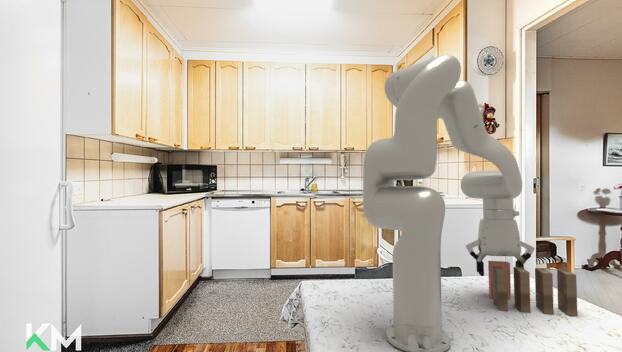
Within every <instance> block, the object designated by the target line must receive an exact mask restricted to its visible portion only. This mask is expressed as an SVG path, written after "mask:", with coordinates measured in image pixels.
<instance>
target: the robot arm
mask: <svg viewBox="0 0 622 352" xmlns="http://www.w3.org/2000/svg"><path fill="white" fill-rule="evenodd" d="M461 67H462V65H461V63H460V60H459V59H458V58H457V57H456V56H454V55H450V54H449V55H448V54H444V55H439V56H436V57H433V58H430V59H426V60H424V61H423V60H422V61H420V62H418V63H415V64H413V65H412V64H411V65H409V66H406V67H403V68H401V69H397V70H395V71H393V72H392V73H391V74H389V75H388V76H387V78H386V79H385V82H384V94H385V96H386V98H387V99H388V101H389V102H390V104H392V105H393V106H394V107H395V108H396V110H395V115H394V118H395V119H394V130H393V132H394V133H393V136H392V137H386V138H380V139H378V140H375V141H373V142H372V143H370V145H369V146H368V148H367V149H366V151H365V153H364V158H363V165H362V167H363V169H362V170H363V171H362V173H363V175H362V178H363V180H362V181H363V182H362V185H363V186H362V188H363V189H362V191H363V192H362V195H363V196H362V202H363V203H362V204H363V206H362V207H363V212H364V213H363V214H364V216H365V219H366V220H367V223H368V224H370V225H371V226H373V227H374V228H378V229H384V230H392V231H399V232H401V234H400V236H399V238H398V240H397V241H396V242H395V244H394V247H393V250H392V299H393V300H392V302H393V303H392V305H393V306H392V308H393V315H392V316H393V318H392V319H393V323H392V324H391V325H389V326H388V327H387V328H386V330H385V337H386V340H387V341H388V343H390V344H391V345H392V346H393V347H395V348H396V349H398V350H402V351H404V352H446V351H447V350H449V349H450V347H451V337H450V335H449V334H448V333H447V332H446V331H445V330H443V323H442V321H443V317H442V316H443V315H442V312H443V311H442V270H441V268H442V265H441V264H442V261H441V257H442V256H441V253H442V252H441V250H442V249H441V248H442V247H441V246H442V233H443V227H444V222H445V218H446V217H445V216H446V203H445V200H444V197H443V195H441V193H439V192H438V191H437V190H436V189H433V188H432V187H431V188H430V187H427V186H421V185H420V186H418V185H414V186H413V185H411V186H410V185H408V186H407V185H406V186H405V185H401V186H395V181H411V180H412V181H414V180H424V179H428V178H429V177H431V176H432V175H434V173H435V171H436V169H437V163H438V162H437V159H438V119H440V120H441V119H442V121H443V123H444V126H445V129H446V132H447V134H448V136H449V141H450V143H451V145H452V147H453V148H454V149H456V150H458V151H461V152H464V153H466V154H470V155H472V156H475V157H479V158H482V159H484V160H487V161H488V162H490V163H492V164H493V165H495V166H496V168H498V170H497V169H496V170H476V171H469V172H467V173H465V174H464V175H463V177H462V178H461V181H460V189H461V192H462V193H463V194H464V196H466V197H468V198H470V199H476V200H479V199H480V200H481V199H482V214H483V215H482V216H483V218H480V220H479V224H478V232H477V233H478V235H477V239H476V240H473V241H472V242H469V243H467V244H465V248H466V250H467V251H468V253H469V255H470V256H471V257H472V258H473V259H474V260H475V261H476V272H477V273H478V275H480V276H481V277H484V276H485V267H484V266H485V264H484V262H483V260H484V259H485V258H486V257H487V256H489V257H514V258H515V259H516V261H515V266H514V267H522V268H524V269H525V264H526V262H527V261H529V259H530V258H531V257H532V254H533V253H534V251H535V250H536V249H535V246H532V245H530V244H528V243H526V242H524V241H522V240H521V235H520V231H519V226H518V223H517V219H515V217H519V216H520V211H517V210H515V209H514V199H516V198H518V197H519V196H520V195H521V192H522V191H523V180H522V175H521V171H520V168H519V165H518V161H517V159H516V157H515V155H514V153H513V152H512V151H511V150H510V149H509V148H508V147H507V146H505V145H504V144H503V143H502V142H501V141H500V140H498V139H497V138H495V137H494V136H491V135H490V134H489V133H488V132H487V128H486V125H485V122H484V119H483V115H482V113H481V110H480V107H479V103H478V100H477V97H476V94H475V90H474V88H473V86H472V84H470V83H469V82H468V81H466V80H462V79H461V80H460V78H461V73H462V68H461ZM475 247H477V250H478V251H479V252H478V253H476V252H475V251H474V248H475ZM522 248H525V249H526V250H525V252H524V253H523V254H521V253H522Z"/></svg>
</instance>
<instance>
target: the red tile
mask: <svg viewBox="0 0 622 352" xmlns="http://www.w3.org/2000/svg"><path fill="white" fill-rule="evenodd" d="M487 264H488V267H487V268H488V269H487V270H488V297H489V296H490V297H489V298H490V299H493V266H501V267H502V268H504V269H505V270H506V271H507V292H508V300H510V301H511V299H512V297H511V295H512V293H511V291H512V290H511V288H512V287H511V263H510V261H505V260H504V261H503V260H488V263H487Z"/></svg>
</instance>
